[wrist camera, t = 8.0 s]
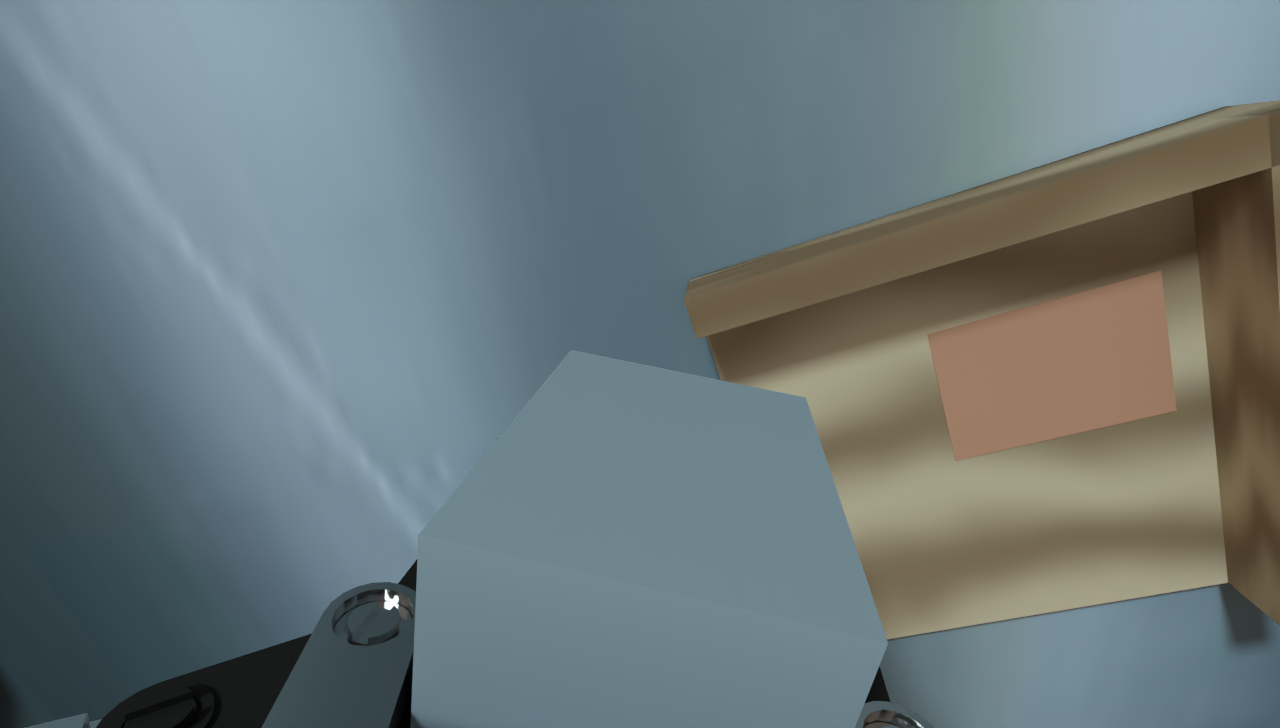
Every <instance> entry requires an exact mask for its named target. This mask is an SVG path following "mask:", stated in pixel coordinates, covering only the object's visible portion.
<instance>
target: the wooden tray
mask: <svg viewBox="0 0 1280 728" xmlns="http://www.w3.org/2000/svg"><path fill="white" fill-rule="evenodd" d="M684 301H685V304H686V307H687V310H688V313H689V316H690V319H691V322H692V325H693V329H694V332H695V335H696V338H697V339H698V338H702V337H705V336H707V339H708V342H709V345H710V348H711V351H712V354H713V357H714V360H715V363H716V366H717V369H718V372H719V375H720V378H721V380H722V381H727V382H731V383H736V384H741V385H746V386H751V387H756V388H761V389H766V390H771V391H776V392H781V393H786V394H791V395H796V396H801V397H806V400H807V403H808V406H809V409H810V411H811V414H812V417H813V420H814V423H815V426H816V429H817V432H818V435H819V438H820V441H821V444H822V447H823V450H824V453H825V456H826V459H827V462H828V465H829V468H830V471H831V474H832V477H833V480H834V483H835V486H836V489H837V492H838V495H839V498H840V501H841V504H842V507H843V510H844V513H845V516H846V519H847V522H848V525H849V528H850V531H851V534H852V537H853V540H854V543H855V546H856V549H857V552H858V555H859V558H860V561H861V564H862V567H863V570H864V573H865V576H866V579H867V582H868V585H869V588H870V591H871V594H872V597H873V600H874V603H875V606H876V609H877V612H878V615H879V618H880V621H881V624H882V627H883V630H884V633H885V636H886V638H887V639H893V638H899V637H905V636H911V635H917V634H923V633H929V632H935V631H941V630H947V629H953V628H959V627H965V626H971V625H977V624H983V623H989V622H995V621H1001V620H1007V619H1013V618H1019V617H1025V616H1031V615H1037V614H1043V613H1049V612H1055V611H1061V610H1067V609H1073V608H1079V607H1085V606H1091V605H1097V604H1103V603H1109V602H1115V601H1122V600H1128V599H1134V598H1140V597H1146V596H1152V595H1158V594H1164V593H1170V592H1176V591H1182V590H1188V589H1194V588H1200V587H1206V586H1212V585H1218V584H1224V583H1229V584H1230V585H1231V586H1233V587H1234V588H1235V589H1236V590H1237V591H1239V592H1240V593H1241V594H1242V595H1243V596H1245V597H1246V598H1247V599H1248V600H1249V601H1251V602H1252V603H1253V604H1254V605H1255V606H1257V607H1258V608H1259V609H1260V610H1261V611H1263V612H1264V613H1265V614H1266V615H1267V616H1269V617H1270V618H1271V619H1272V620H1273V621H1275V622H1276V623H1277V624H1278V625H1280V100H1278V101H1270V102H1261V103H1253V104H1244V105H1235V106H1227V107H1222V108H1219V109H1216V110H1213V111H1210V112H1207V113H1204V114H1201V115H1197V116H1194V117H1191V118H1188V119H1185V120H1182V121H1179V122H1176V123H1173V124H1170V125H1167V126H1163V127H1160V128H1157V129H1154V130H1151V131H1148V132H1145V133H1142V134H1139V135H1136V136H1132V137H1129V138H1126V139H1123V140H1120V141H1117V142H1114V143H1111V144H1108V145H1105V146H1101V147H1098V148H1095V149H1092V150H1089V151H1086V152H1083V153H1080V154H1077V155H1074V156H1070V157H1067V158H1064V159H1061V160H1058V161H1055V162H1052V163H1049V164H1046V165H1043V166H1040V167H1036V168H1033V169H1030V170H1027V171H1024V172H1021V173H1018V174H1015V175H1012V176H1009V177H1005V178H1002V179H999V180H996V181H993V182H990V183H987V184H984V185H981V186H978V187H974V188H971V189H968V190H965V191H962V192H959V193H956V194H953V195H950V196H947V197H943V198H940V199H937V200H934V201H931V202H928V203H925V204H922V205H919V206H916V207H913V208H909V209H906V210H903V211H900V212H897V213H894V214H891V215H888V216H885V217H882V218H878V219H875V220H872V221H869V222H866V223H863V224H860V225H857V226H854V227H851V228H847V229H844V230H841V231H838V232H835V233H832V234H829V235H826V236H823V237H820V238H816V239H813V240H810V241H807V242H804V243H801V244H798V245H795V246H792V247H789V248H786V249H782V250H779V251H776V252H773V253H770V254H767V255H764V256H761V257H758V258H755V259H751V260H748V261H745V262H742V263H739V264H736V265H733V266H730V267H727V268H724V269H720V270H717V271H714V272H711V273H708V274H705V275H702V276H699V277H696V278H693V279H690V280H689V283H688V287H687V290H686V293H685V297H684Z"/></svg>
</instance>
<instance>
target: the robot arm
mask: <svg viewBox="0 0 1280 728" xmlns="http://www.w3.org/2000/svg"><path fill="white" fill-rule="evenodd" d="M416 582H417V560H416V561H415V563H414V564H413V565H412V567H411V568H410V569H409V570H408V572H407V573H406V574H405V576H404V577H403V578H402V579H401V581H400V582H399V583H398V584H396V583H390V582H381V583H370V584H366V585H362V586H358V587H356V588H353V589H351V590H349V591H347V592H345V593H343V594H342V595H340V596H339V597H338V598H336V599H335V600H334V601H332V602H331V603H330V605H329V606H328V607H327V609H326V610H325V611H324V612H323V614H322V616H321V618H320V620H319V621H318V623H317V625H316V627H315V629H314V631H313V633H312V634H309V635H306V636H303V637H300V638H297V639H294V640H291V641H287V642H284V643H281V644H278V645H275V646H272V647H269V648H266V649H263V650H259V651H256V652H253V653H250V654H247V655H244V656H241V657H238V658H234V659H231V660H228V661H225V662H222V663H219V664H216V665H213V666H210V667H206V668H203V669H200V670H197V671H194V672H191V673H188V674H185V675H182V676H178V677H175V678H172V679H169V680H166V681H163V682H160V683H158V684H155V685H153V686H150V687H148V688H146V689H143V690H141V691H139V692H137V693H135V694H134V695H132V696H131V697H129V698H127V699H126V700H124V701H123V702H121V703H119V704H118V705H117V706H116V707H115V708H114V709H113V710H112V711H110V712H109V713H108V714H107V715H106V716H105V717H104V718H103V719H101V720H97V721H93V722H89V719H88V715H87V713H86V714H81V715H77V716H73V717H69V718H65V719H60V720H56V721H52V722H48V723H43V724H39V725H35V726H31V727H26V728H410V726H411V702H412V678H413V654H414V630H415V606H416ZM855 728H934V727H933V726H932V725H931V724H930V723H928V722H927V721H926V720H925V719H923V718H922V717H921V716H919V715H918V714H916V713H915V712H913V711H911V710H909V709H907V708H905V707H903V706H901V705H897V704H894V703H891V702H890V700H889V696H888V693H887V690H886V686H885V683H884V680H883V676H882V673H881V670H880V666H879V668H878V671H877V673H876V676H875V678H874V681H873V683H872V686H871V688H870V691H869V693H868V696H867V698H866V701H865V703H864V706H863V708H862V711H861V714H860V716H859V719H858V721H857V724H856V726H855Z"/></svg>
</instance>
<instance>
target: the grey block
mask: <svg viewBox="0 0 1280 728" xmlns="http://www.w3.org/2000/svg"><path fill="white" fill-rule="evenodd" d="M887 645H888V641H887V638H886V636H885V633H884V630H883V627H882V624H881V621H880V618H879V615H878V612H877V609H876V606H875V603H874V600H873V597H872V594H871V591H870V588H869V585H868V582H867V579H866V576H865V573H864V570H863V567H862V564H861V561H860V558H859V555H858V552H857V549H856V546H855V543H854V540H853V537H852V534H851V531H850V528H849V525H848V522H847V519H846V516H845V513H844V510H843V507H842V504H841V501H840V498H839V495H838V492H837V489H836V486H835V483H834V480H833V477H832V474H831V471H830V468H829V465H828V462H827V459H826V456H825V453H824V450H823V447H822V444H821V441H820V438H819V435H818V432H817V429H816V426H815V423H814V420H813V417H812V414H811V411H810V409H809V406H808V403H807V400H806V397H801V396H796V395H791V394H786V393H781V392H776V391H771V390H766V389H761V388H756V387H751V386H746V385H741V384H736V383H731V382H727V381H722V380H717V379H712V378H707V377H702V376H697V375H692V374H687V373H682V372H677V371H672V370H667V369H662V368H657V367H652V366H647V365H642V364H638V363H633V362H628V361H623V360H618V359H613V358H608V357H603V356H598V355H593V354H588V353H583V352H578V351H573V350H571V351H570V352H569V353H568V354H567V356H566V357H565V358H564V359H563V360H562V362H561V363H560V364H559V365H558V366H557V368H556V369H555V370H554V371H553V373H552V374H551V375H550V376H549V377H548V379H547V380H546V381H545V382H544V383H543V385H542V386H541V387H540V388H539V390H538V391H537V392H536V393H535V394H534V396H533V397H532V398H531V399H530V400H529V402H528V403H527V404H526V405H525V406H524V408H523V409H522V410H521V411H520V413H519V414H518V415H517V416H516V417H515V419H514V420H513V421H512V422H511V423H510V425H509V426H508V427H507V428H506V430H505V431H504V432H503V433H502V434H501V436H500V437H499V438H498V439H497V440H496V442H495V443H494V444H493V445H492V446H491V448H490V449H489V450H488V451H487V453H486V454H485V455H484V456H483V457H482V459H481V460H480V461H479V462H478V463H477V465H476V466H475V467H474V468H473V470H472V471H471V472H470V473H469V474H468V476H467V477H466V478H465V479H464V480H463V482H462V483H461V484H460V485H459V486H458V488H457V489H456V490H455V491H454V493H453V494H452V495H451V496H450V497H449V499H448V500H447V501H446V502H445V503H444V505H443V506H442V507H441V508H440V509H439V511H438V512H437V513H436V514H435V516H434V517H433V518H432V519H431V520H430V522H429V523H428V524H427V525H426V526H425V528H424V529H423V530H422V531H421V533H420V534H419V535H418V558H417V582H416V606H415V630H414V654H413V678H412V702H411V726H410V728H855V726H856V724H857V721H858V719H859V716H860V714H861V711H862V708H863V706H864V703H865V701H866V698H867V696H868V693H869V691H870V688H871V686H872V683H873V681H874V678H875V676H876V673H877V671H878V668H879V665H880V663H881V660H882V658H883V655H884V653H885V650H886V648H887Z"/></svg>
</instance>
